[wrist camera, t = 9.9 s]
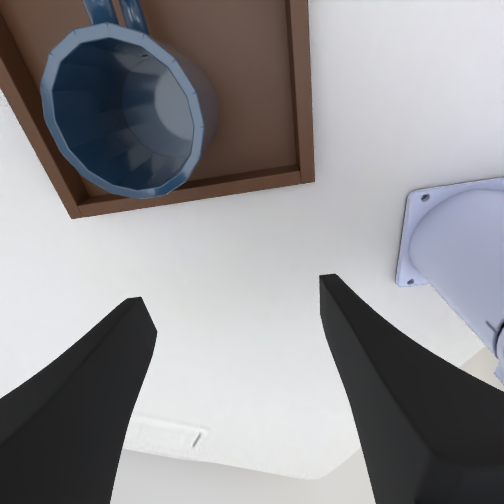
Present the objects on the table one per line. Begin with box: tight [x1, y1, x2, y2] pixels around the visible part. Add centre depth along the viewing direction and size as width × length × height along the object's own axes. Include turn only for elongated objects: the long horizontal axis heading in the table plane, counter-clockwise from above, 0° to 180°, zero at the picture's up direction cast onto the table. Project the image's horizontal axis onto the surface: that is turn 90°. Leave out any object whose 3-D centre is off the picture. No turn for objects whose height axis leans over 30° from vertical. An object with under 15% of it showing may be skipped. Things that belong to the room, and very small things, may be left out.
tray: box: [0, 0, 315, 219], centre depth 14 cm, size 15×13×2 cm
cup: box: [40, 0, 220, 199], centre depth 12 cm, size 8×6×6 cm
